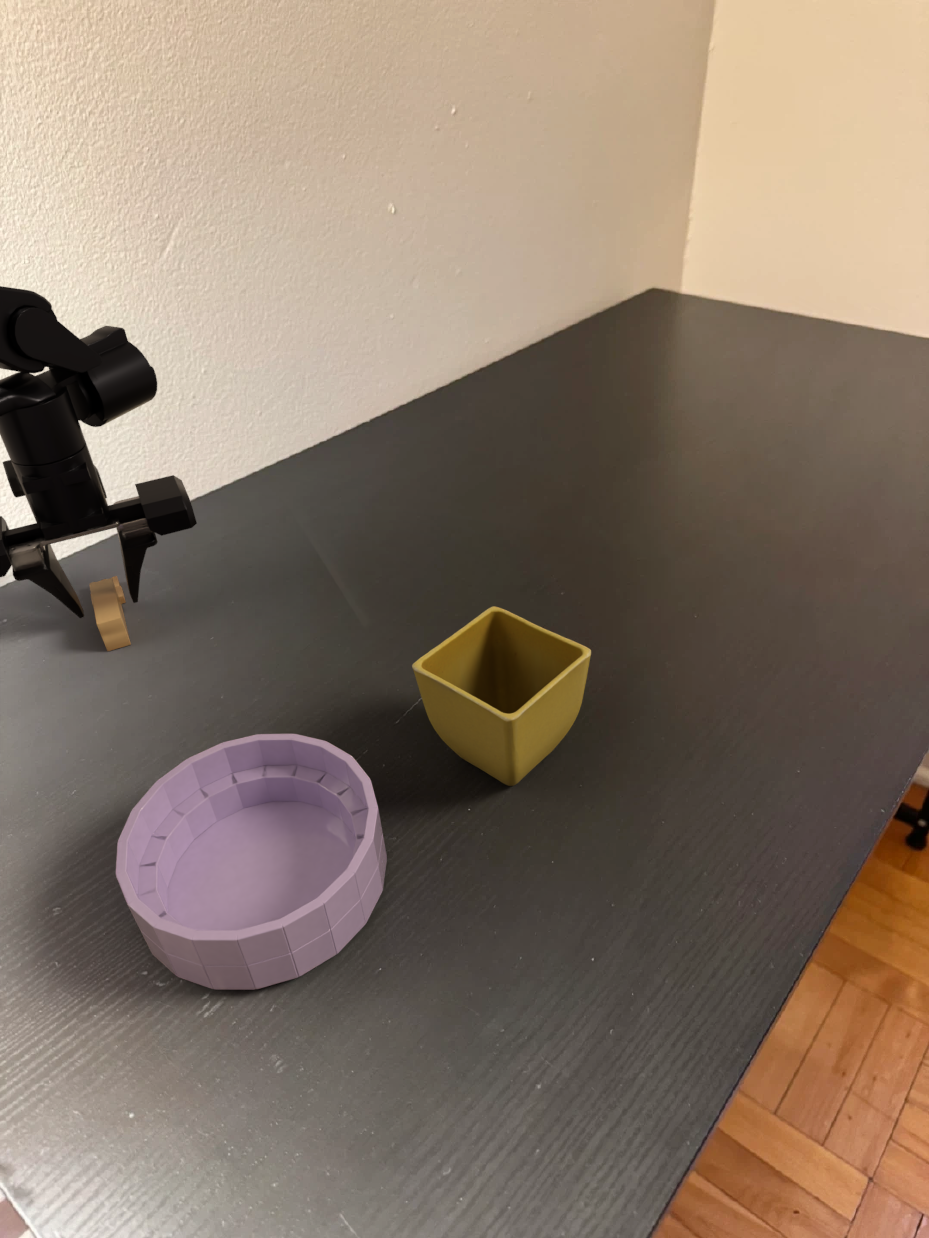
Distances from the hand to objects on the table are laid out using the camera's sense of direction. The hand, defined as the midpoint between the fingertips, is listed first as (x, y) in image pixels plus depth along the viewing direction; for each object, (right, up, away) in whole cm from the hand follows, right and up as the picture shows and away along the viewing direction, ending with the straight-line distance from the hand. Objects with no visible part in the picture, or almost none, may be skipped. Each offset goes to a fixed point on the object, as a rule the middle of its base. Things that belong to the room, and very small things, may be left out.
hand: (108, 607), depth 77 cm
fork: (0, -1, +1) cm, 1 cm away
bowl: (+20, -18, -23) cm, 35 cm away
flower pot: (+35, -11, -15) cm, 40 cm away
